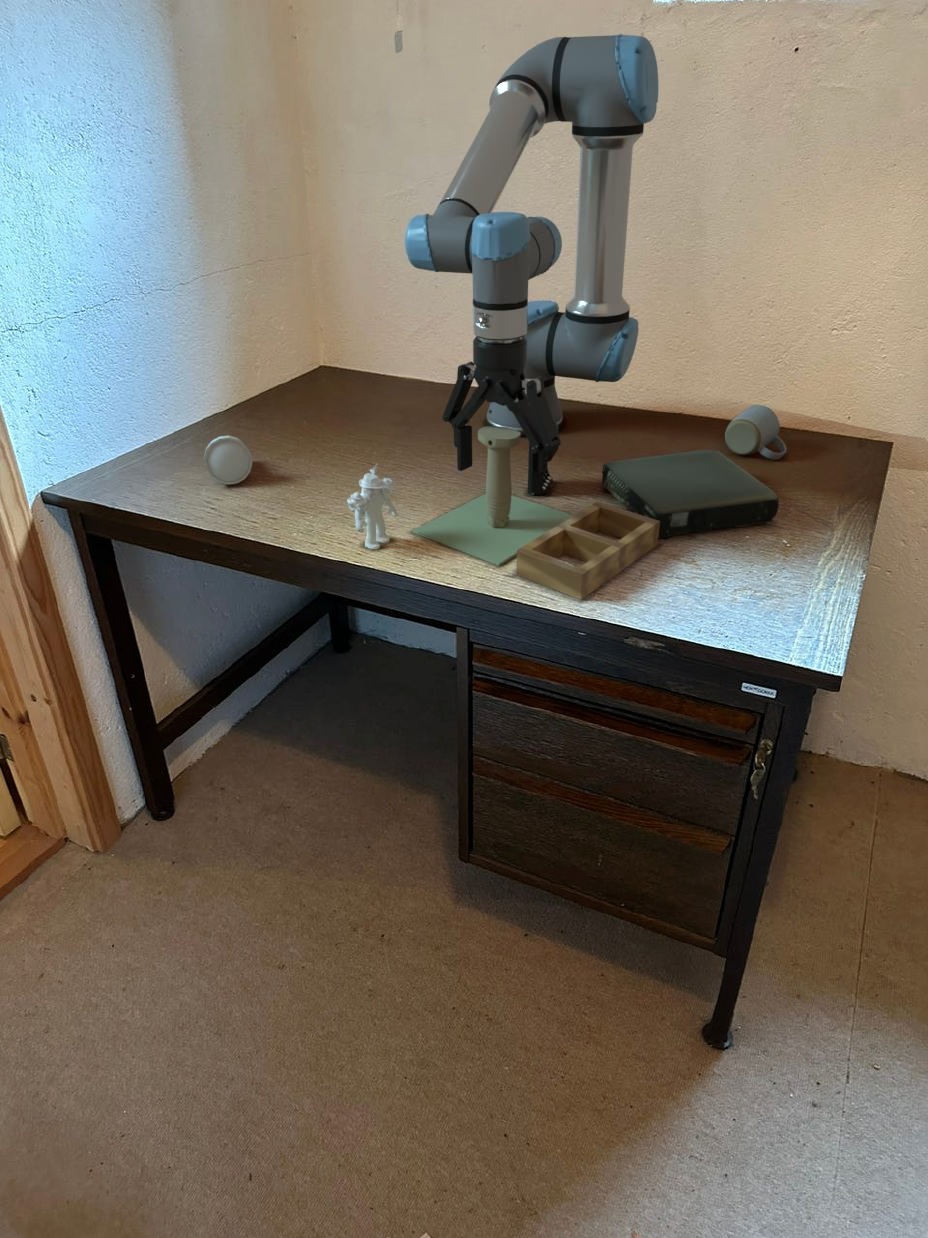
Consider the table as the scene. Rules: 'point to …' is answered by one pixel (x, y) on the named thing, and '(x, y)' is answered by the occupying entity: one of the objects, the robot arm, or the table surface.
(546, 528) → the mat
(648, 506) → the network switch
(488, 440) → the handle
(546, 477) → the battery charger
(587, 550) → the rack
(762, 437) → the ceramic mug
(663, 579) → the table surface
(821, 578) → the table surface
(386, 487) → the flower shoulder figurine
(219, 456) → the spotlight
